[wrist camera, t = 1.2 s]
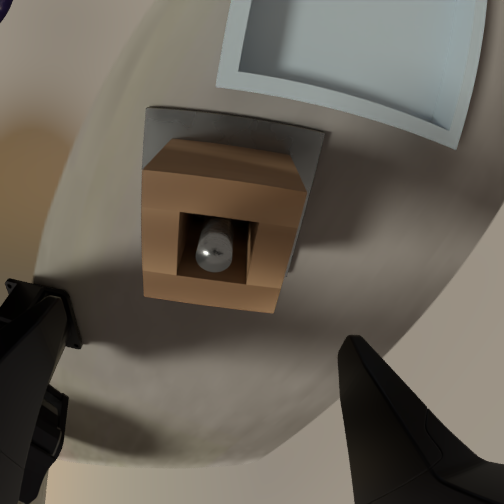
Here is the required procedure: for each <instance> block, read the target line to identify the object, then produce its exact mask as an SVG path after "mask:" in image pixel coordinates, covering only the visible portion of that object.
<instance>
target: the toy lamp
mask: <svg viewBox="0 0 504 504" xmlns="http://www.w3.org/2000/svg"><path fill="white" fill-rule="evenodd" d="M12 1H13V0H0V23H1V21H2V20H3V19H4V17H5V16H6V14H7V12H8V11H9V9H10V7H11V4H12Z"/></svg>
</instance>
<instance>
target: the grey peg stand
mask: <svg viewBox="0 0 504 504" xmlns="http://www.w3.org/2000/svg"><path fill="white" fill-rule="evenodd" d="M324 136H325V133H324V132H322V131H317V130H313V129H308V128H303V127H299V126H294V125H289V124H283V123H278V122H272V121H267V120H261V119H255V118H249V117H242V116H235V115H228V114H220V113H212V112H203V111H194V110H184V109H172V108H158V107H147V108H146V114H145V126H144V141H143V159H142V170H143V169H144V167H145V166H146V165H147V164H148V163H149V162H150V161H151V160H152V159H153V158H154V157H155V156H156V155H157V153H158V152H159V151H160V150H161V149H162V148H163V147H164V146H165V145H166V144H167V143H168V142H169V141H170V140H171V139H181V140H191V141H200V142H208V143H216V144H224V145H231V146H238V147H245V148H251V149H257V150H264V151H269V152H275V153H281V154H286V155H290V156H291V158H292V160H293V162H294V165H295V167H296V169H297V171H298V173H299V175H300V177H301V180H302V182H303V184H304V186H305V188H306V191H307V196H306V200H305V203H304V207H303V211H302V215H301V218H300V222H299V226H298V229H297V233H296V237H295V240H294V244H293V248H292V251H291V255H290V258H289V262H288V265H287V269H286V272H285V276H284V277H287V273H288V270H289V266H290V263H291V260H292V256H293V253H294V249H295V245H296V242H297V238H298V235H299V231H300V228H301V224H302V220H303V217H304V213H305V209H306V206H307V202H308V198H309V194H310V191H311V187H312V183H313V179H314V175H315V171H316V167H317V164H318V160H319V156H320V152H321V148H322V144H323V140H324ZM141 207H142V189H141ZM193 221H201V222H203V226H202V230H201V235H200V239H199V243H198V247H197V251H196V261H197V263H198V264H199V266H200V267H201V268H203V269H204V270H206V271H209V272H221V271H223V270H225V269H227V268H228V267H229V266H230V264H231V262H232V252H233V236H234V226H238V227H245V228H246V226H247V221H245V220H238V219H231V218H224V217H216V216H209V215H201V214H194V213H193ZM141 244H142V227H141Z"/></svg>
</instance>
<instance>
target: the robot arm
mask: <svg viewBox="0 0 504 504" xmlns="http://www.w3.org/2000/svg"><path fill="white" fill-rule="evenodd" d="M5 285H6V288H7V291H8V294H9V295H8V297H7V298H6V300H5V301H4V303H3V304H2V305H1V307H0V504H18V501H20V502H22V503H24V504H30V503H31V502H32V501H34V500H35V499H36V498H37V496H38V493H39V490H40V487H41V484H42V481H43V479H44V477H45V475H46V473H47V471H48V469H49V468H50V466H51V465H52V464H53V463H54V462H55V460H56V459H57V458H58V456H59V454H60V452H61V449H62V446H63V442H64V434H65V424H66V416H67V408H68V400H69V397H68V396H66V395H65V394H64V393H60V392H59V391H58V390H56V389H55V388H54V387H52V386H51V385H50V384H49V383H50V380H51V378H52V376H53V373H54V371H55V369H56V366H57V364H58V362H59V359H60V357H61V355H62V353H63V351H64V348H65V346H67V347H71V348H75V349H81V347H82V345H83V343H82V340H81V337H80V334H79V330H78V327H77V323H76V320H75V316H74V313H73V309H72V305H71V301H70V297H69V295H68V294H67V292H65V291H63V290H58V289H54V288H49V287H45V286H40V285H36V284H31V283H27V282H22V281H19V280H15V279H10V278H9V279H7V281H6V282H5ZM338 371H339V389H340V401H341V408H342V414H343V420H344V426H345V433H346V440H347V447H348V454H349V461H350V469H351V476H352V484H353V493H354V502H355V504H504V464H498V463H493V462H488V461H486V460H484V459H482V458H480V457H478V456H477V455H476V454H474V452H472V451H471V450H470V449H469V448H468V447H467V446H466V445H465V444H463V443H462V442H461V441H460V440H459V439H458V438H457V437H456V436H455V435H454V434H453V433H452V432H451V431H450V430H449V429H448V428H447V427H445V426H444V425H443V423H442V422H441V421H440V420H439V419H438V418H437V417H436V416H435V415H434V414H433V413H432V412H431V411H430V410H429V409H427V406H426V405H425V404H424V403H423V402H422V401H421V400H420V399H419V398H418V397H417V395H416V394H415V393H414V392H413V391H412V390H411V389H410V388H409V387H408V386H407V385H406V384H405V383H404V381H403V380H402V379H401V378H400V377H399V376H398V375H397V374H396V373H395V372H394V371H393V370H392V369H391V367H390V366H389V365H388V364H387V363H386V362H385V361H384V360H383V359H382V358H381V357H380V356H379V355H378V353H377V352H376V351H375V350H374V349H373V348H372V347H371V346H370V345H369V344H368V343H367V342H366V341H365V340H364V339H363V338H362V337H361V336H360V335H348V336H347V337H346V339H345V341H344V342H343V344H342V346H341V348H340V350H339V352H338Z"/></svg>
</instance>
